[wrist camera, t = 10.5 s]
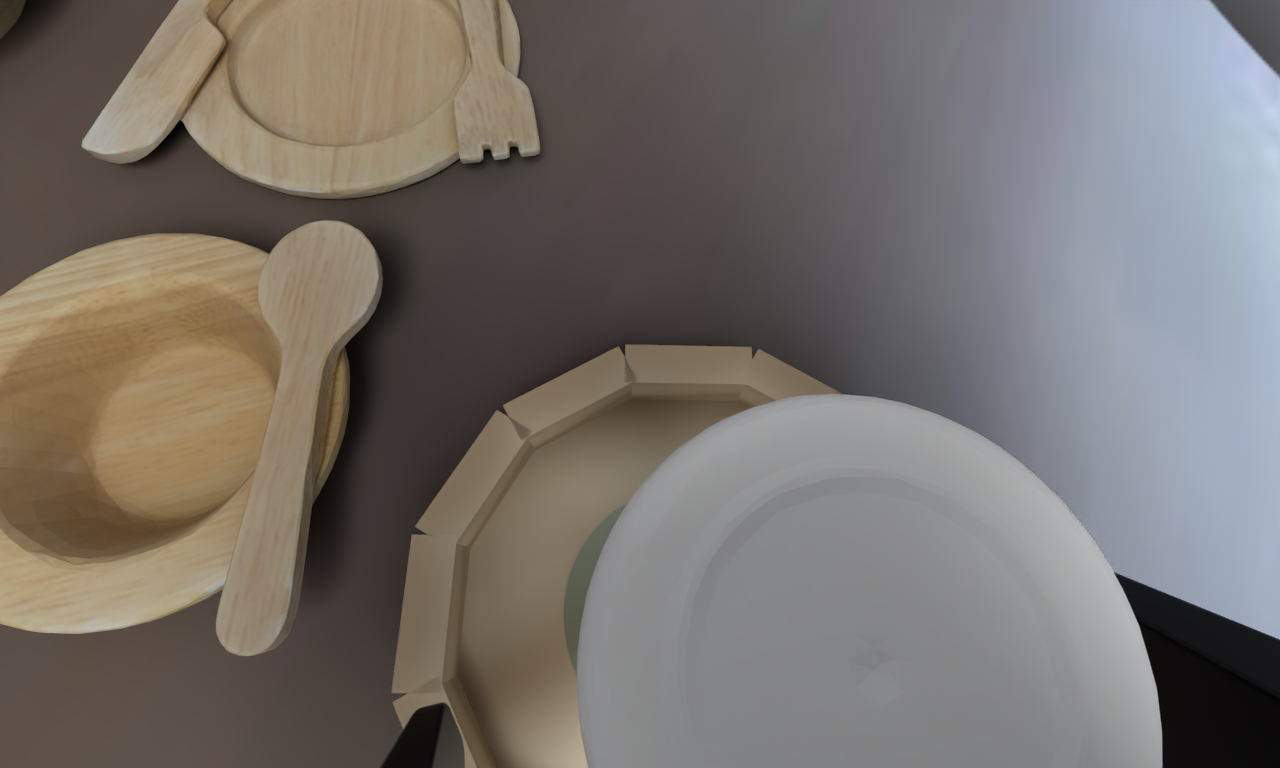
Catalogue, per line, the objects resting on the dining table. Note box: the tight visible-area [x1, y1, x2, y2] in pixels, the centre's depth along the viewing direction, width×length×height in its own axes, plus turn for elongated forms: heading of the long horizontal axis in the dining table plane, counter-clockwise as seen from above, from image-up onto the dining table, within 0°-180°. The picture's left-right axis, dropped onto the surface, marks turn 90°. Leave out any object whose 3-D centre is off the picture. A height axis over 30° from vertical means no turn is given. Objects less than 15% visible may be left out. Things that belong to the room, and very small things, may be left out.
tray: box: [391, 345, 842, 768], centre depth 17 cm, size 15×15×2 cm
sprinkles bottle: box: [577, 394, 1162, 768], centre depth 11 cm, size 5×5×14 cm
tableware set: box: [0, 0, 540, 656], centre depth 20 cm, size 35×29×4 cm
